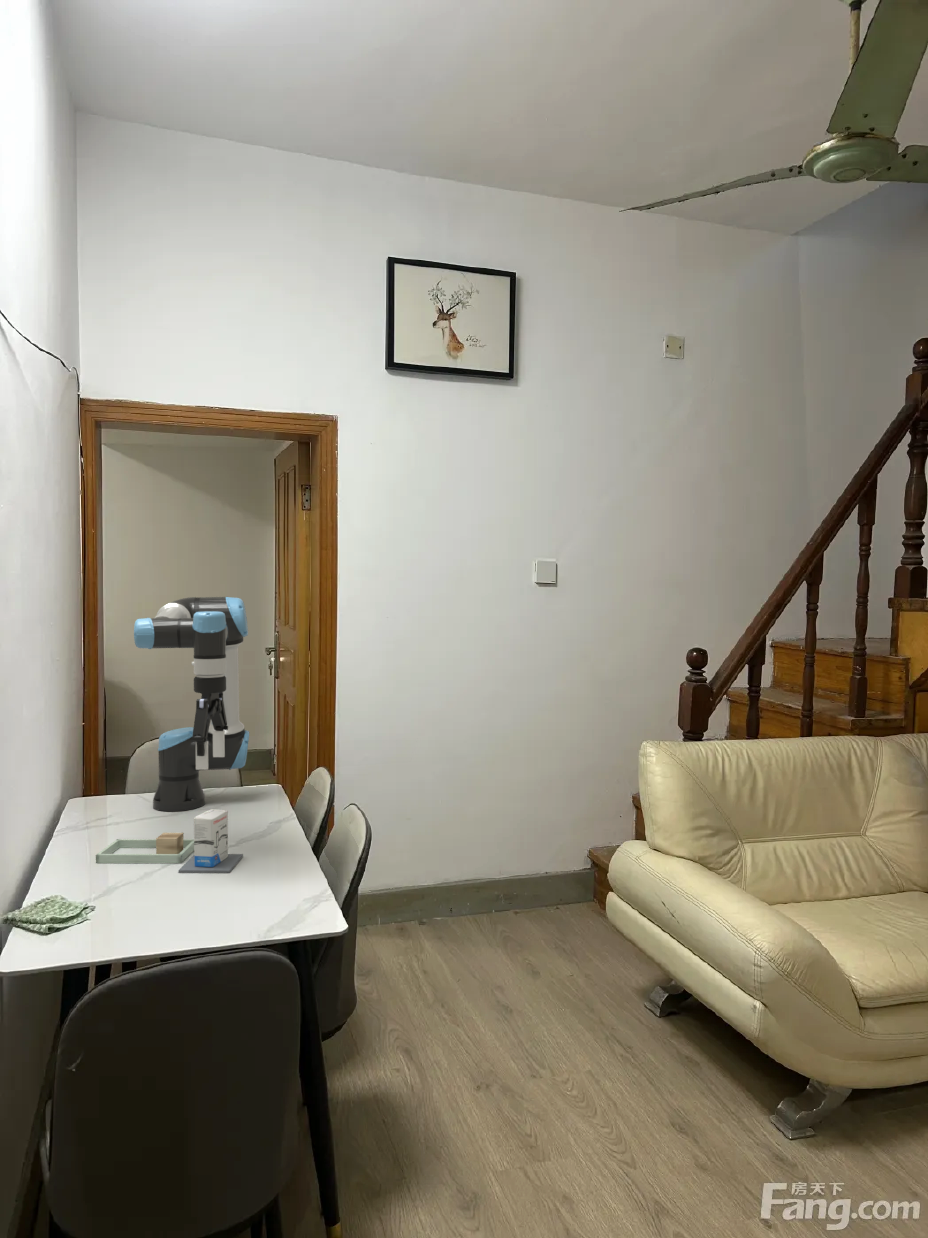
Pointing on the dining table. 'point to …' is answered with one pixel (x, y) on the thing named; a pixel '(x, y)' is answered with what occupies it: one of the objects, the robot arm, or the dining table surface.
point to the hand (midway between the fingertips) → (210, 763)
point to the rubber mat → (221, 867)
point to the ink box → (210, 838)
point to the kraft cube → (169, 843)
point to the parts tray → (108, 857)
